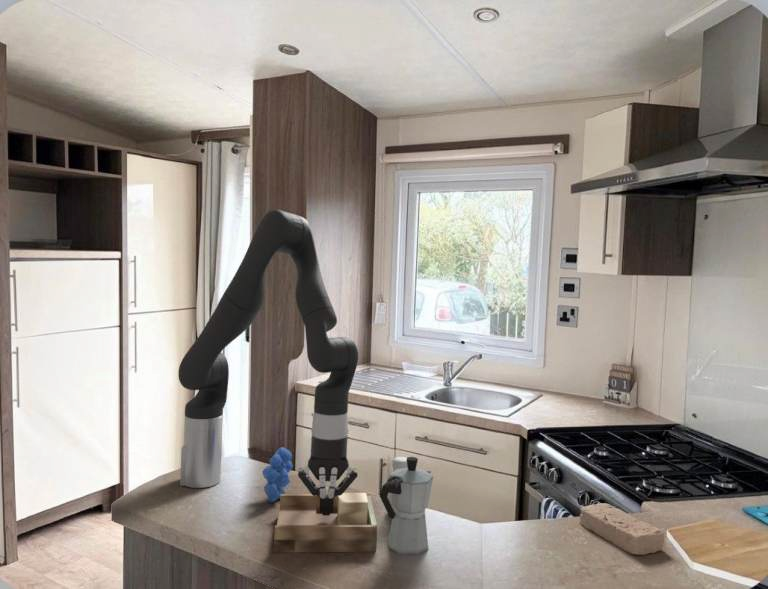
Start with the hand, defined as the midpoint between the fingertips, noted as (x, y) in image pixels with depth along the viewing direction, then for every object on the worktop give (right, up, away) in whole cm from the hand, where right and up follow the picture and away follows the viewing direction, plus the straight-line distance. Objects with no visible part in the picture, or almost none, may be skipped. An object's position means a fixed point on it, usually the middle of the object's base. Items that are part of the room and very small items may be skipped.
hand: (325, 513), depth 117 cm
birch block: (+5, -2, +1) cm, 6 cm away
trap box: (0, -4, 0) cm, 4 cm away
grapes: (-14, -3, +17) cm, 22 cm away
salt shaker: (+16, -5, +11) cm, 20 cm away
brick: (+64, -8, +5) cm, 64 cm away
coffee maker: (+16, -5, -4) cm, 18 cm away
